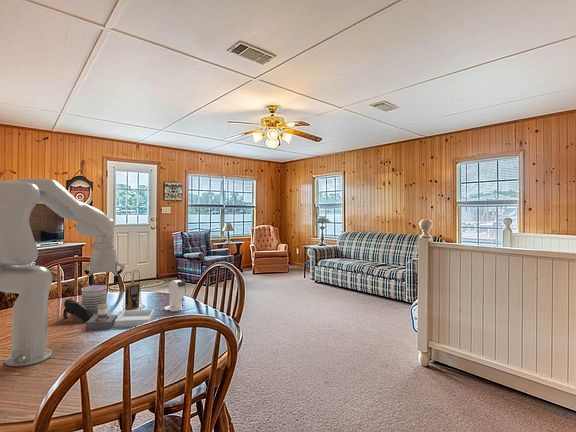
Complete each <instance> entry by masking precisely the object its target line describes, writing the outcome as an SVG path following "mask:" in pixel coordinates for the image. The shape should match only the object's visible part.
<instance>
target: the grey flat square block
mask: <svg viewBox="0 0 576 432" xmlns="http://www.w3.org/2000/svg"><path fill="white" fill-rule="evenodd" d="M118 316H119V314H109V315H108V314H107V320H98V315H93V316H92V318H91V319H90V320H88V321H87V322H85V331H86V330H89V331H91V330H93V331H94V330H111V329H113V327H114V322H115V320H116V319H117V318H118Z"/></svg>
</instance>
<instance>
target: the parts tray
mask: <svg viewBox="0 0 576 432" xmlns="http://www.w3.org/2000/svg"><path fill="white" fill-rule="evenodd" d="M154 317H155V309H141V310H140V309H136V310H135V309H132V310H124V311H123V310H122V312H121V313H120V314H118V318H117V319H116V320H115V322H114V326H113V327H114V328H116V329H117V328H119V327H120V328H134V327H135V326H138V325H142V324H144V323H147V322H150V321H151V322H153V321H152V320H153V319H154ZM135 328H136V327H135Z"/></svg>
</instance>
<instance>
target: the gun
mask: <svg viewBox="0 0 576 432" xmlns="http://www.w3.org/2000/svg"><path fill="white" fill-rule="evenodd" d="M63 307H64V310H63V313H62V317H63V319H64V320H67V319H68V314H70V315H71V316H73V315H74V316H75V317H77V318H78V319H79V320H81V321H82V322H83V323H86V322H87V321H88V320H90V319H91V318H92V317H93V316H94V315H93V314H92V313H91V312H90V311H89V310H88V309H87V308H86V307H84V306H83V305H82V303H80V302H78V301H75V300H73V299H71V298H68V299H65V300H64V303H63Z"/></svg>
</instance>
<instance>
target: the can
mask: <svg viewBox="0 0 576 432" xmlns="http://www.w3.org/2000/svg"><path fill="white" fill-rule="evenodd" d="M107 288H108V287H107V285H104V284H93V285H91V286H90V285H87V286H85V287H81V288H80V289H81V305H83V306H84V307H86V308H87V309H88V310H89V311H90V312H91V313H92V314H94V313H95V314H98V309H97V306H98V305H100V304H107Z"/></svg>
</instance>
